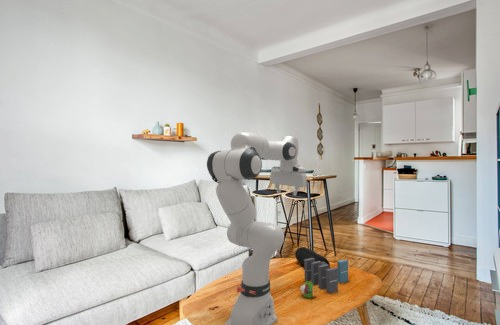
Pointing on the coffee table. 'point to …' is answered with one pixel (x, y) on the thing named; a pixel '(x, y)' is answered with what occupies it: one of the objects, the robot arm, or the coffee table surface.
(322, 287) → the domino
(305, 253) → the portable speaker
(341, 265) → the domino
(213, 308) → the coffee table surface
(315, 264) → the domino
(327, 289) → the domino
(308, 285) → the geometric puzzle
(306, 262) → the domino
